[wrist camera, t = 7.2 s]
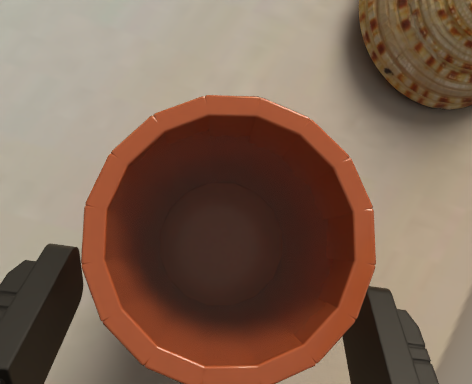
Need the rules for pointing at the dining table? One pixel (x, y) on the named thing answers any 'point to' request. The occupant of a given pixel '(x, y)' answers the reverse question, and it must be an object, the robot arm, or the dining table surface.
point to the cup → (228, 242)
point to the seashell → (422, 48)
